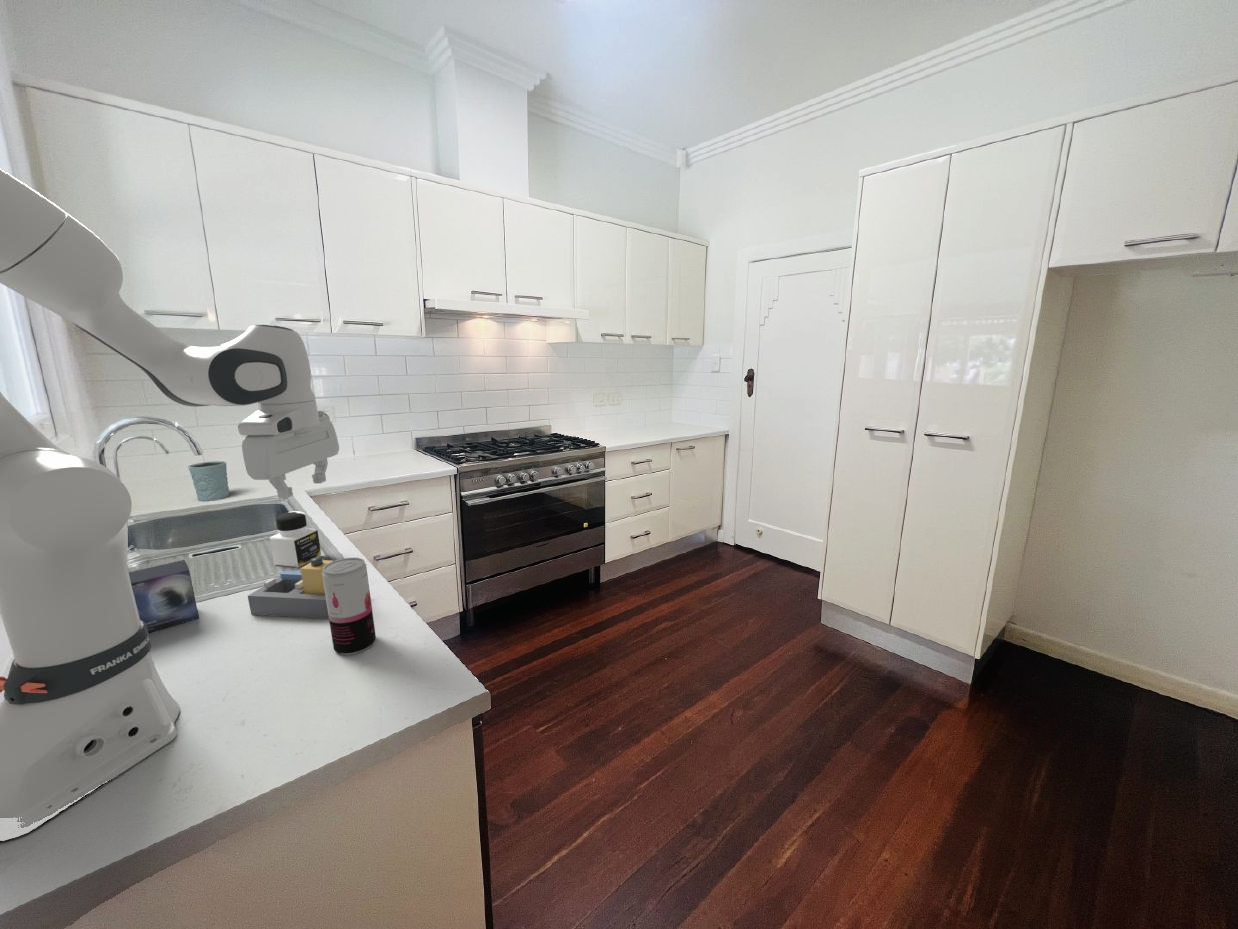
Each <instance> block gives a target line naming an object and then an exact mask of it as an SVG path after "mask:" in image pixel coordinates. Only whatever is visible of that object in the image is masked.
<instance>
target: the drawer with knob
mask: <svg viewBox="0 0 1238 929" xmlns="http://www.w3.org/2000/svg"><path fill="white" fill-rule="evenodd" d="M333 561H334V560H325V559H323V557H322V556H319V557H315V558H312V559H311V561H310V562H308V563H306V564H305V565H303V566H302V567H300V572H301V575H302V581H303V587H304V593H305V594H318V595H325V590H324V583H323V577H322V572H323V567H324V566H325V565H327V564H329V563H331V562H333Z"/></svg>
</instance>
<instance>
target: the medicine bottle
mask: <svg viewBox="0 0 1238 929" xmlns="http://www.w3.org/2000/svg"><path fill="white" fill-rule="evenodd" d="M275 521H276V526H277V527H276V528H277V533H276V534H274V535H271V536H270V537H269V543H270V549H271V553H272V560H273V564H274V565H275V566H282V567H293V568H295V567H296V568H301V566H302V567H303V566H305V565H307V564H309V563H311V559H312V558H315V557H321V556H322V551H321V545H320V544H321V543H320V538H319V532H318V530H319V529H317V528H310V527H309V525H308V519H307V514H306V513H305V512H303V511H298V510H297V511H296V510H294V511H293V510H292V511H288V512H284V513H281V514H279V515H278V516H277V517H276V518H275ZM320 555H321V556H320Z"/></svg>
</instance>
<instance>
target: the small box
mask: <svg viewBox="0 0 1238 929" xmlns="http://www.w3.org/2000/svg"><path fill="white" fill-rule="evenodd" d="M129 576H130V581H131V585H132V589H133V593H134V597H135V601H136V605H137V609H138V613H139V617H140V620H142V621H144V622H145V624H146V627H147V630H148V634H149V632H150V633H152V632H155V631H156V630H157V631H159V630H160V631H161V630H163V629H162V628H164V629H167V628H170V627H173V626H177V625H180V623H181V624H184V623H187V622H186V621H188V622H190V621H189V620H191V621H193V620H192V619H195V620H197V619H199V618H200V617H199V611H198V607H197V601H196V596H195V592H194V586H193V583H192V581H193V580H192V577H191V571H190V569H189V566H188V564H187V562H186V560H185V559H182V560H178V561H173V562H168V563H163V564H160V565H156V566H151V567H147V568H146V567H145V568H142V569H138V570H133V571H129ZM183 622H184V623H183ZM169 626H170V627H169ZM166 627H167V628H166Z"/></svg>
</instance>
